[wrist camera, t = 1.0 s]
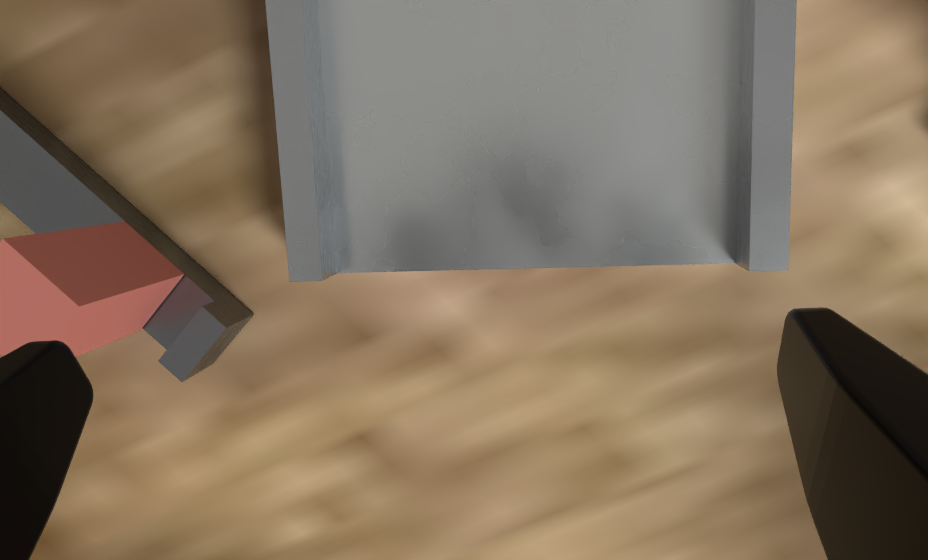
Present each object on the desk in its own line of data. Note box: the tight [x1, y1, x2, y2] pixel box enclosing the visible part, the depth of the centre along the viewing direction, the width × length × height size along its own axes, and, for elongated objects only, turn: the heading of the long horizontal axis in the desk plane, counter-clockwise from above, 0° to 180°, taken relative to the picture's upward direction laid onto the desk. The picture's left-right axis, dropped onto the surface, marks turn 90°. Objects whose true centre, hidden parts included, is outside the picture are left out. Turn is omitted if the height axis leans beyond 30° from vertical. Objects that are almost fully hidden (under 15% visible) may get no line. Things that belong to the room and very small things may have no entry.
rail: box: [0, 88, 254, 382], centre depth 23 cm, size 13×2×2 cm, turn 49°
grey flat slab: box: [265, 0, 797, 282], centre depth 20 cm, size 13×14×2 cm
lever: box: [0, 222, 184, 357], centre depth 20 cm, size 2×2×5 cm
